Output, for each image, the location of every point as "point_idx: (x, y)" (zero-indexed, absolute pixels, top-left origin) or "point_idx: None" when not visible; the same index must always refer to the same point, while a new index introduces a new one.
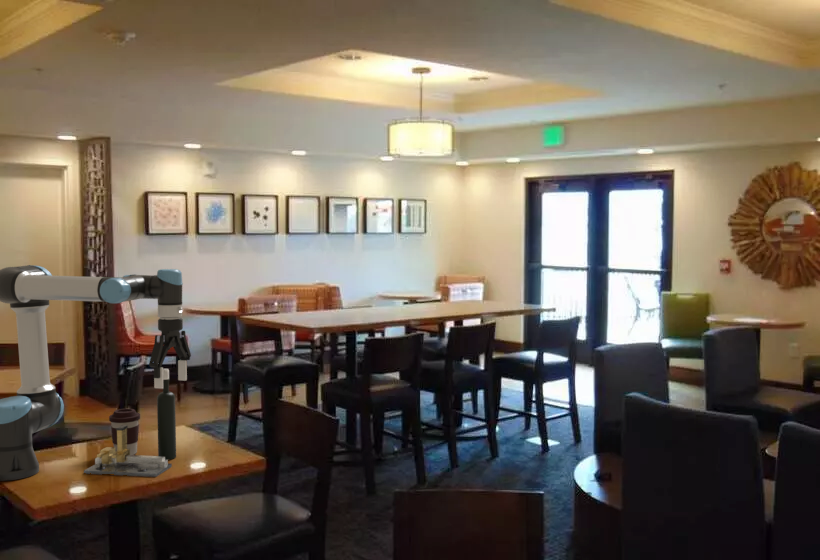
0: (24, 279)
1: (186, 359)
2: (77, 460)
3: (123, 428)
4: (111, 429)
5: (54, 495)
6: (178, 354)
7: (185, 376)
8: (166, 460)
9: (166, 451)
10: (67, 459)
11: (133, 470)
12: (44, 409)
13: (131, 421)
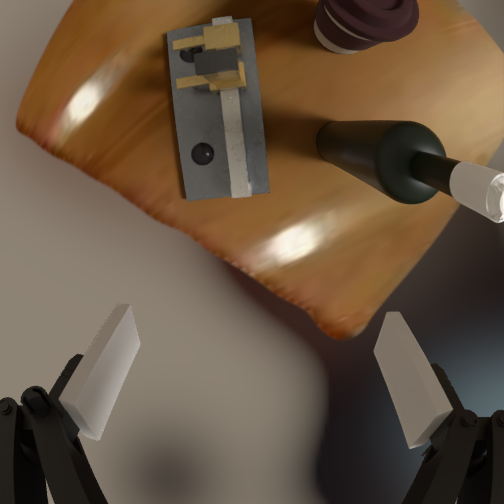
0: None
1: (429, 448)
2: None
3: (208, 72)
4: None
5: (53, 92)
6: (432, 471)
7: (381, 367)
8: (244, 196)
9: (322, 152)
10: None
11: (194, 135)
12: None
13: (347, 29)
